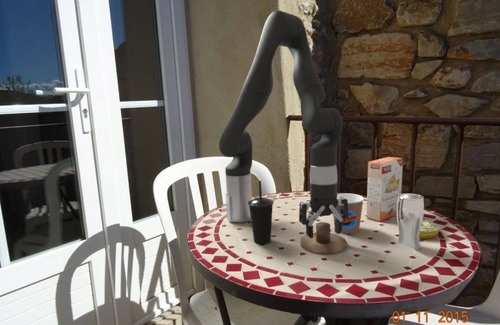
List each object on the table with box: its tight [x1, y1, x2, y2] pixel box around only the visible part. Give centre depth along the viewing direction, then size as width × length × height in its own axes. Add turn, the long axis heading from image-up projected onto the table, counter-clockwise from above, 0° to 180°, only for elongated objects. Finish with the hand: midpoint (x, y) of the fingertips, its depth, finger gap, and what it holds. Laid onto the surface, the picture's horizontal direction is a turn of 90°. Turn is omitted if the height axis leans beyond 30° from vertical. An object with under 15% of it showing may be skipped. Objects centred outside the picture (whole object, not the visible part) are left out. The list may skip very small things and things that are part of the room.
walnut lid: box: [300, 221, 347, 255], centre depth 98 cm, size 13×13×6 cm
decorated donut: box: [419, 219, 441, 240], centre depth 106 cm, size 10×11×4 cm
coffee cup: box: [332, 192, 365, 235], centre depth 108 cm, size 10×10×12 cm
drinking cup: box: [248, 180, 275, 245], centre depth 101 cm, size 8×8×20 cm
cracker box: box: [366, 156, 404, 222], centre depth 121 cm, size 14×6×21 cm, turn 129°
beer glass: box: [396, 192, 425, 251], centre depth 96 cm, size 7×7×15 cm
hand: (324, 235), depth 97 cm, fingers open, 8 cm apart
